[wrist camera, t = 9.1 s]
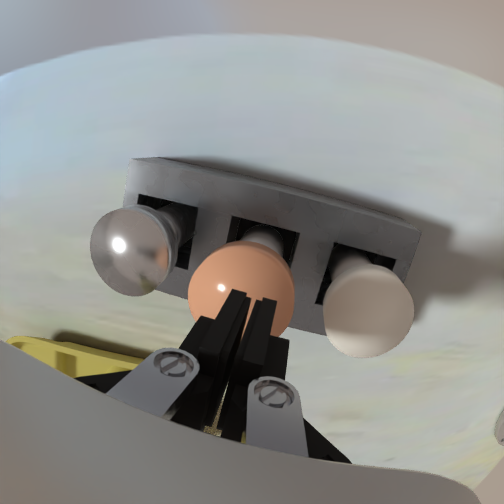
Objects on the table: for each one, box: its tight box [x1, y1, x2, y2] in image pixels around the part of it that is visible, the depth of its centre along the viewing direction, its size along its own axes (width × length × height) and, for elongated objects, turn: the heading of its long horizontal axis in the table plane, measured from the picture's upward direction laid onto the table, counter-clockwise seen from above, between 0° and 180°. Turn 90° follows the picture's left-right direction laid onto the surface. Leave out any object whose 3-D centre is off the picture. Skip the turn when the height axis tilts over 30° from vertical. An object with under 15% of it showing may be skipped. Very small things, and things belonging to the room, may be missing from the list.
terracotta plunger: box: [188, 225, 295, 339], centre depth 17 cm, size 4×4×8 cm
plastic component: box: [6, 336, 145, 378], centre depth 28 cm, size 20×7×10 cm
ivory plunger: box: [323, 244, 414, 358], centre depth 18 cm, size 4×4×8 cm
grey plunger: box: [90, 202, 198, 296], centre depth 19 cm, size 4×4×8 cm
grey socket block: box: [123, 157, 421, 336], centre depth 21 cm, size 18×8×4 cm, turn 77°
